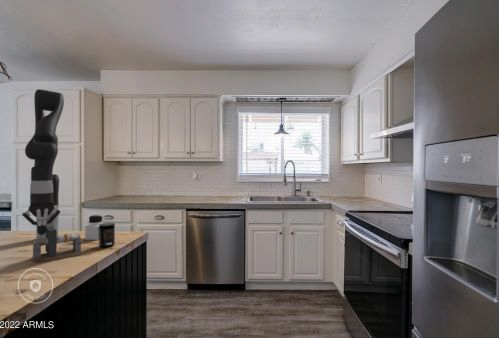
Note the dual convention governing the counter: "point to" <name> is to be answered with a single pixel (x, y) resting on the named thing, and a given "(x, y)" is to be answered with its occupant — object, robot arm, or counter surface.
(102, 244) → the supplement container
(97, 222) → the medicine bottle
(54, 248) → the collar
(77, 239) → the pipe stand
